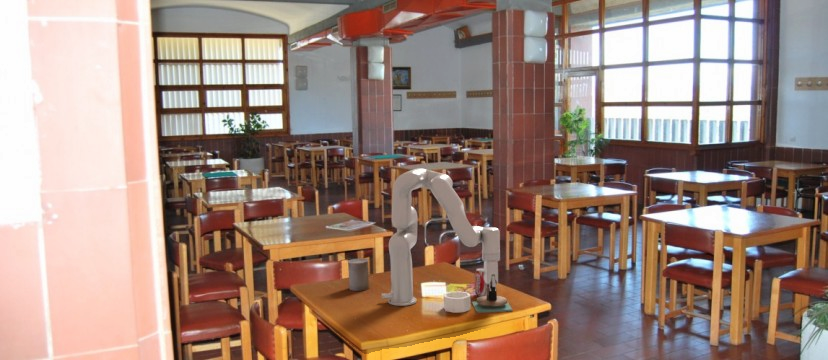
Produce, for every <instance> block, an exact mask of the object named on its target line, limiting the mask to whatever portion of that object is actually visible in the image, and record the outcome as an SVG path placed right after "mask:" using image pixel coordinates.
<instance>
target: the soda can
mask: <svg viewBox="0 0 828 360" xmlns="http://www.w3.org/2000/svg"><path fill="white" fill-rule="evenodd" d="M486 288H488V287H487V284H486V283H485V281H484V267H479V268H476V270H475V273H474V292H475V293H474V294H475V295H476V296H478V297H482V296H487V290H486Z"/></svg>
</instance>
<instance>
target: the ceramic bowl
mask: <svg viewBox="0 0 828 360" xmlns="http://www.w3.org/2000/svg"><path fill="white" fill-rule="evenodd" d="M471 303H472V301H471V294H470V292H466V291H462V290H458V291H448V292H445V293H443V309H444V311H445V312H450V313H454V314H456V313H466V312H469V311H471V307H472V306H471Z"/></svg>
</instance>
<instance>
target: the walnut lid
mask: <svg viewBox="0 0 828 360" xmlns="http://www.w3.org/2000/svg"><path fill="white" fill-rule="evenodd" d="M486 290H487V296H482V297H480V296H478V297H477V298H476V301H477V303H478V304H479V305H483V306H502V305H505V304H506V303H507V302H508V299H507V298H506V297H504V296H501V295H498V290H497V287H496V300H489V287H488V288H486Z"/></svg>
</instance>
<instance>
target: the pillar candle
mask: <svg viewBox="0 0 828 360" xmlns="http://www.w3.org/2000/svg"><path fill="white" fill-rule="evenodd" d="M347 267H348V269H347V270H348V286H349V289H348V290H350V291H353V292H360V291H367V290H369V289H370V278H369V277H370V275H369V259H368V258H367V259H366V258H353V259H349V260H348V261H347Z"/></svg>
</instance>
